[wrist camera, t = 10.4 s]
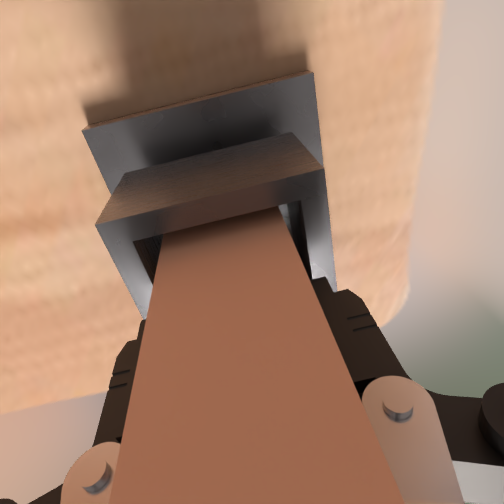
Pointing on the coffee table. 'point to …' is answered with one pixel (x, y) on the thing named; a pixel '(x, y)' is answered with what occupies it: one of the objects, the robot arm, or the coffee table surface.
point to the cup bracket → (213, 173)
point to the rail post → (243, 382)
